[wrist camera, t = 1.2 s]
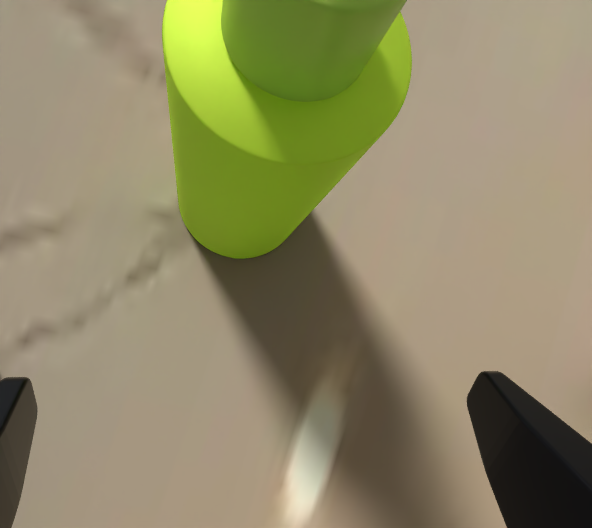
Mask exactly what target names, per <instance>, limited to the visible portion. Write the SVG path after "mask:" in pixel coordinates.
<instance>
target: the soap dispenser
mask: <svg viewBox="0 0 592 528" xmlns="http://www.w3.org/2000/svg"><path fill="white" fill-rule="evenodd" d="M406 1H407V0H167V2H166V6H165V10H164V16H163V24H162V42H163V53H164V63H165V73H166V83H167V93H168V103H169V113H170V123H171V133H172V143H173V153H174V163H175V173H176V183H177V193H178V203H179V209H180V213H181V216H182V219H183V221H184V223H185V225H186V227H187V229H188V230H189V232H190V233H191V234H192V236H193V237H194V238H195V239H196V240H197V241H198V242H199V243H200V244H202V245H203V246H204V247H206V248H207V249H209V250H211V251H212V252H214V253H217V254H219V255H222V256H226V257H230V258H240V259H244V258H253V257H257V256H261V255H263V254H266V253H268V252H270V251H272V250H273V249H275V248H277V247H278V246H279V245H280V244H282V243H283V242H284V241H285V240H286V238H287V237H288V236H289V235H290V234H291V233H292V232H293V231H294V230H295V229H296V228H297V227H298V225H299V224H300V223H301V222H302V221H303V220H304V219H305V218H306V217H307V216H308V215H309V213H310V212H311V211H312V210H313V209H314V208H315V207H316V206H317V205H318V204H319V203H320V202H321V200H322V199H323V198H324V197H325V196H326V195H327V194H328V193H329V192H330V191H331V190H332V188H333V187H334V186H335V185H336V184H337V183H338V182H339V181H340V180H341V179H342V178H343V177H344V175H345V174H346V173H347V172H348V171H349V170H350V169H351V168H352V167H353V166H354V165H355V163H356V162H357V161H358V160H359V159H360V158H361V157H362V156H363V155H364V154H365V153H366V152H367V150H368V149H369V148H370V147H371V146H372V145H373V144H374V143H375V142H376V141H377V140H378V138H379V137H380V136H381V135H382V134H383V133H384V132H385V131H386V130H387V128H388V127H389V126H390V125H391V123H392V122H393V121H394V119H395V118H396V116H397V114H398V113H399V111H400V109H401V107H402V105H403V103H404V100H405V97H406V94H407V91H408V88H409V83H410V77H411V67H412V56H411V46H410V40H409V35H408V31H407V28H406V25H405V22H404V19H403V17H402V14H401V12H400V10H401V9H402V7H403V6H404V4H405V3H406Z"/></svg>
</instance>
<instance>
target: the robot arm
mask: <svg viewBox="0 0 592 528" xmlns="http://www.w3.org/2000/svg"><path fill="white" fill-rule="evenodd" d="M467 407H468V411H469V414H470V418H471V422H472V425H473V429H474V432H475V436H476V440H477V443H478V447H479V451H480V454H481V458H482V461H483V465H484V468H485V471H486V474H487V477H488V480H489V482H490V485H491V488H492V490H493V493H494V495H495V498H496V500H497V503H498V506H499V508H500V511H501V513H502V516H503V518H504V521H505V524H506V526H507V528H592V444H591V443H590V442H589V441H588V440H586V439H585V438H584V437H583V436H581V435H580V434H579V433H578V432H576V431H575V430H574V429H572V428H571V427H570V426H569V425H567V424H566V423H565V422H564V421H562V420H561V419H560V418H559V417H557V416H556V415H555V414H553V413H552V412H551V411H550V410H548V409H547V408H546V407H545V406H543V405H542V404H541V403H540V402H538V401H537V400H536V399H534V398H533V397H532V396H531V395H529V394H528V393H527V392H526V391H524V390H523V389H522V388H521V387H519V386H518V385H517V384H515V383H514V382H513V381H512V380H510V379H509V378H508V377H507V376H505V375H504V374H503V373H501V372H498V371H483V372H481V373H480V374H479V375H478V376H477V378H476V380H475V382H474V384H473V386H472V388H471V390H470V392H469V393H468V396H467ZM36 419H37V403H36V399H35V395H34V391H33V387H32V383H31V381H30V379H29V378H26V377H8V378H4V379H3V380H1V381H0V528H11V527H12V524H13V521H14V518H15V515H16V512H17V508H18V505H19V501H20V497H21V493H22V488H23V484H24V479H25V474H26V469H27V464H28V459H29V454H30V449H31V444H32V439H33V434H34V429H35V424H36Z"/></svg>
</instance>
